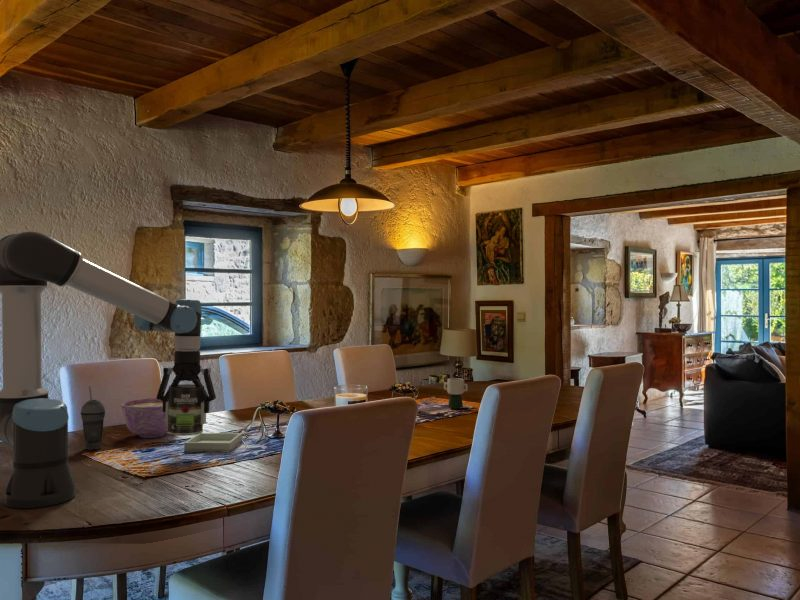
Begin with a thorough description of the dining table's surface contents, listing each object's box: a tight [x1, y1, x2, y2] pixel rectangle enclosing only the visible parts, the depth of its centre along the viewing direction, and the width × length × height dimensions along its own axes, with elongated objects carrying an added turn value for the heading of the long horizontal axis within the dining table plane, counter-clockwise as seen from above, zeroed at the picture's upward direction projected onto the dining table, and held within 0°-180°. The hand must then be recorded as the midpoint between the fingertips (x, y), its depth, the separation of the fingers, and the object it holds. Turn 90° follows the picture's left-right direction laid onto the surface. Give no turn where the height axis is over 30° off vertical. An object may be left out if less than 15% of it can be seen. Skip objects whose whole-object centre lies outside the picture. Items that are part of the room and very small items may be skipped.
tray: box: [183, 432, 243, 453], centre depth 213 cm, size 14×14×3 cm
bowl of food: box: [120, 397, 168, 439], centre depth 230 cm, size 20×20×12 cm
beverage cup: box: [80, 385, 106, 451], centre depth 210 cm, size 7×7×20 cm
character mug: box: [443, 377, 469, 410], centre depth 283 cm, size 11×7×13 cm, turn 65°
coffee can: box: [167, 383, 205, 437], centre depth 199 cm, size 10×10×14 cm
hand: (185, 423), depth 199 cm, fingers closed on coffee can, 10 cm apart
